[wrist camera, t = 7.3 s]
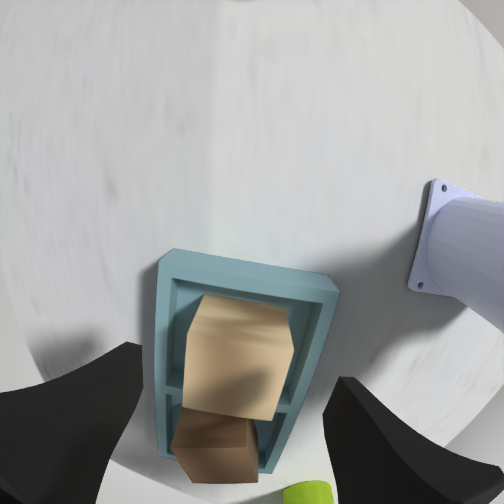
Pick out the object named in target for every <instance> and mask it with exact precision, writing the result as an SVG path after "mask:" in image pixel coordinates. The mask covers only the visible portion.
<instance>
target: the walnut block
mask: <svg viewBox="0 0 504 504" xmlns="http://www.w3.org/2000/svg"><path fill="white" fill-rule="evenodd" d="M170 448H171V449H172V451H173V453H174V454H175V456H176V458H177V459H178V461H179V463H180V464H181V466H182V467H183V469H184V471H185V472H186V474H187V475H188V477H189V478H190V480H191V481H192V483H205V484H236V483H257V482H258V434H257V430H256V426H255V422H254V419H250V418H242V417H235V416H229V415H222V414H216V413H210V412H205V411H200V410H195V409H190V408H185V407H182V411H181V414H180V417H179V420H178V424H177V427H176V430H175V434H174V437H173V441H172V444H171V447H170Z"/></svg>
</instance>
